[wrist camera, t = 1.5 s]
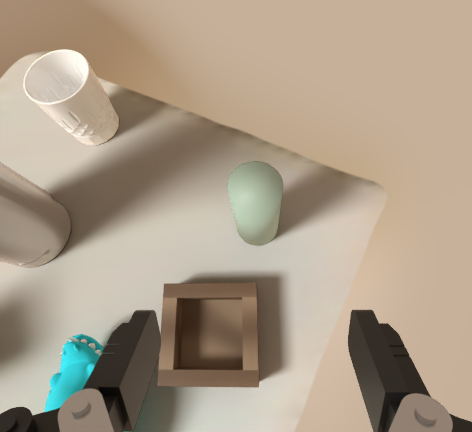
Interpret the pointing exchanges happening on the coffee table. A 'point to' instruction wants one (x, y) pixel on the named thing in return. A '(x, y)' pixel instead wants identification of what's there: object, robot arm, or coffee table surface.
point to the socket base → (209, 335)
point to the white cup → (72, 96)
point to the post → (256, 201)
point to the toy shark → (73, 369)
